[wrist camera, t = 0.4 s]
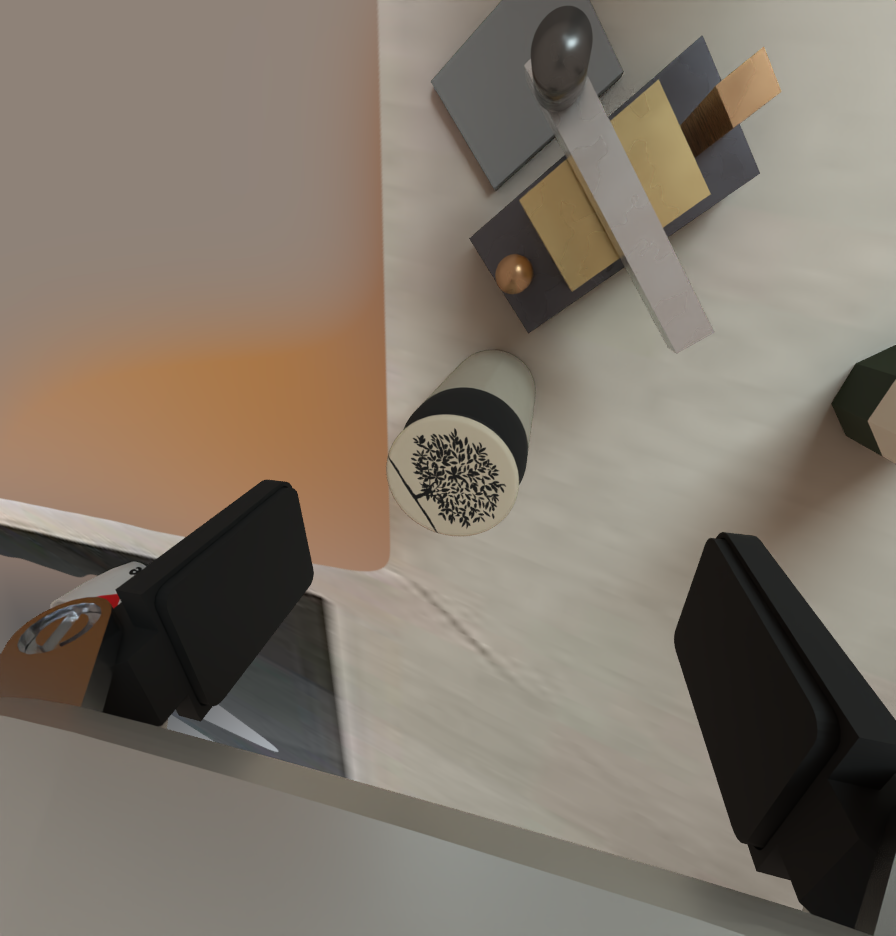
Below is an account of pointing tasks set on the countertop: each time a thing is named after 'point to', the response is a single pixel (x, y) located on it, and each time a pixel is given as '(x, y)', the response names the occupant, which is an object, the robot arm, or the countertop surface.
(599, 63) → the rubber mat
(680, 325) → the bar
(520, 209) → the dark slate base plate
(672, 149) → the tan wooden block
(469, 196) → the countertop surface
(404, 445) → the travel mug
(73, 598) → the cup
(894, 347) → the wine bottle
